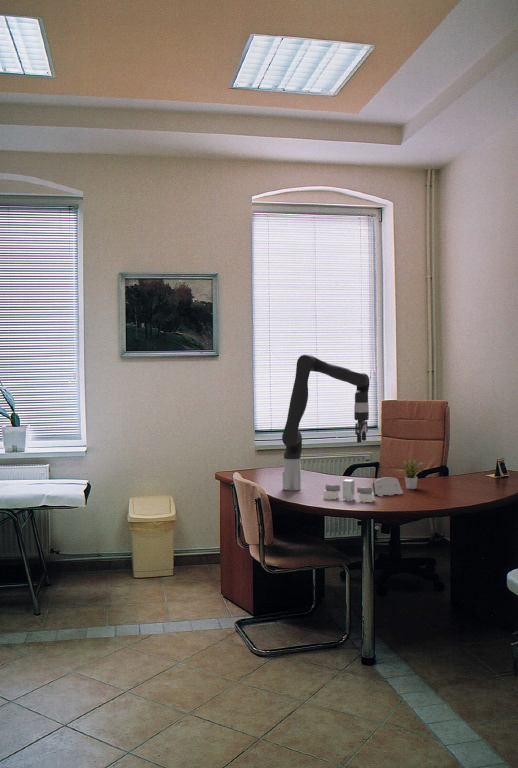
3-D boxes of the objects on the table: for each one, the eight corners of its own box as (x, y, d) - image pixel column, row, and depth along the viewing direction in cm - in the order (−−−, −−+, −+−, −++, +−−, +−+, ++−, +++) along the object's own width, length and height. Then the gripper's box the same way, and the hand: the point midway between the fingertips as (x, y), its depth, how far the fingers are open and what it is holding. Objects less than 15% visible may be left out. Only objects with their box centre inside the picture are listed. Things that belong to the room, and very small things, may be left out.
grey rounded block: (378, 496, 350) (374, 477, 353) (373, 498, 354) (369, 479, 357) (404, 493, 357) (400, 475, 360) (398, 495, 361) (394, 476, 364)
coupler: (342, 500, 342) (342, 480, 342) (346, 498, 346) (346, 479, 346) (351, 501, 340) (351, 481, 340) (354, 499, 344) (354, 480, 344)
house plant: (425, 491, 363) (425, 461, 362) (399, 490, 365) (399, 460, 365) (424, 486, 377) (424, 457, 376) (399, 485, 379) (399, 457, 379)
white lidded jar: (323, 498, 346) (323, 485, 345) (327, 496, 351) (327, 483, 351) (337, 500, 343) (337, 486, 342) (341, 497, 348) (341, 484, 348)
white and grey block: (356, 501, 338) (356, 487, 338) (359, 499, 344) (359, 485, 343) (370, 503, 335) (370, 489, 335) (374, 500, 340) (374, 486, 340)
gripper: (358, 409, 363) (358, 439, 364) (350, 411, 350) (350, 442, 351) (372, 410, 360) (372, 440, 360) (364, 412, 347) (364, 443, 348)
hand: (361, 441), depth 356 cm, fingers open, 8 cm apart
